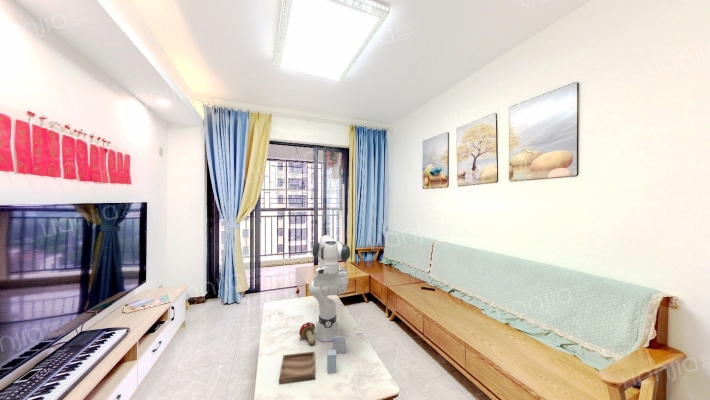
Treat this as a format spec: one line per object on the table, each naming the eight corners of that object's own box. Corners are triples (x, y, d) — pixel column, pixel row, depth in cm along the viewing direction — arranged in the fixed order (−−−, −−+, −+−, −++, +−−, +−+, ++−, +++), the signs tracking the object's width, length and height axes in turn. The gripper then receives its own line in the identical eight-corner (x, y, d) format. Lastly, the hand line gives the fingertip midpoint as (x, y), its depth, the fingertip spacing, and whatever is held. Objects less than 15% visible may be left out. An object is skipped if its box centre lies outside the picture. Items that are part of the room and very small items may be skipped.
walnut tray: (283, 359, 136) (283, 355, 136) (314, 356, 139) (314, 351, 139) (279, 384, 118) (279, 379, 118) (315, 379, 121) (315, 374, 121)
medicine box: (345, 348, 146) (345, 335, 146) (345, 353, 142) (345, 339, 142) (333, 348, 146) (333, 335, 146) (332, 353, 141) (332, 339, 141)
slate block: (327, 367, 130) (327, 350, 130) (335, 366, 131) (335, 349, 130) (327, 373, 125) (328, 355, 125) (336, 372, 126) (336, 354, 126)
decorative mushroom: (317, 333, 147) (308, 315, 158) (302, 346, 143) (294, 327, 155) (324, 341, 153) (315, 323, 165) (309, 353, 150) (301, 334, 161)
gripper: (347, 267, 142) (347, 290, 141) (313, 268, 138) (313, 292, 137) (349, 269, 136) (349, 293, 135) (313, 271, 132) (313, 296, 131)
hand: (330, 293), depth 136 cm, fingers open, 8 cm apart
